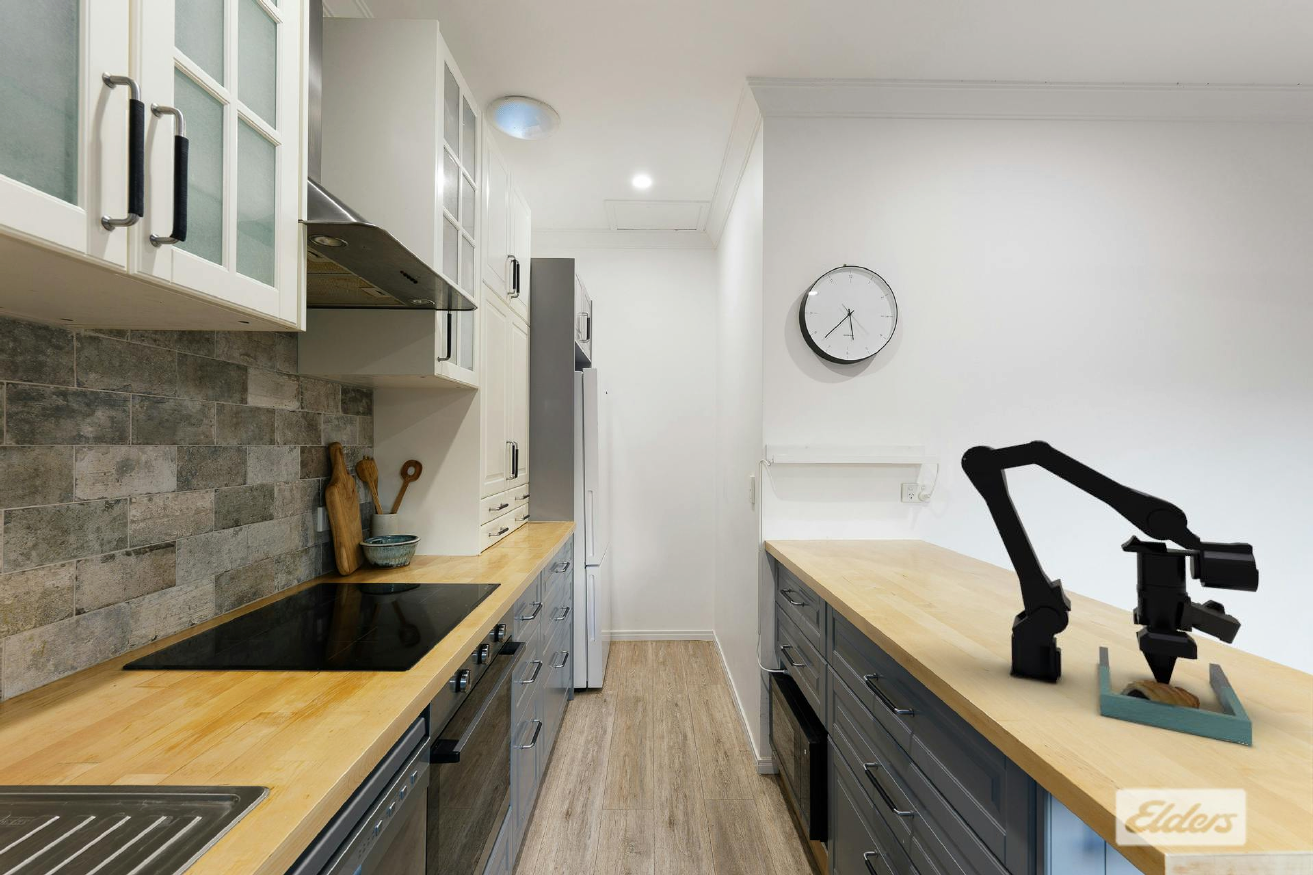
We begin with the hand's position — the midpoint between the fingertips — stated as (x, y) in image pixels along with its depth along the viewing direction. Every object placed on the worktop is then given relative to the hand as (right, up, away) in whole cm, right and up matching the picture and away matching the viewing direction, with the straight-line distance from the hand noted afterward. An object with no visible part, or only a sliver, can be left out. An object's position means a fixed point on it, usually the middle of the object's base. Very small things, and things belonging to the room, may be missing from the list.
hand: (1163, 686), depth 91 cm
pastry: (-3, -2, -3) cm, 5 cm away
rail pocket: (0, -2, -1) cm, 2 cm away
